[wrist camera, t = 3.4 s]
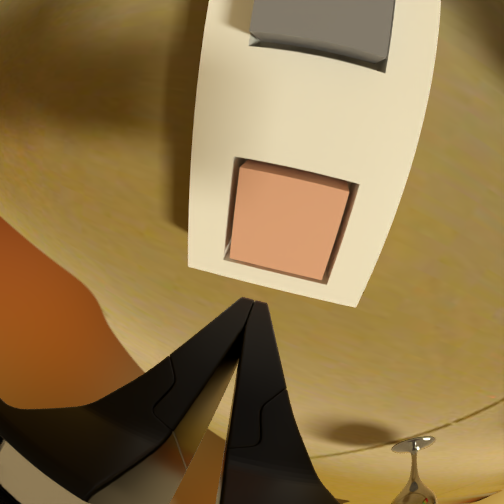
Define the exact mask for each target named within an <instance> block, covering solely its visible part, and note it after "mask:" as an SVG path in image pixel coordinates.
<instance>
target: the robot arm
mask: <svg viewBox="0 0 504 504" xmlns="http://www.w3.org/2000/svg"><path fill="white" fill-rule="evenodd" d="M238 361H239V362H238ZM237 364H238V368H237V374H236V380H235V387H234V393H233V399H232V406H231V412H230V418H229V424H228V431H227V437H226V443H225V450H224V456H223V463H222V468H221V474H220V481H219V487H218V493H217V499H216V504H340V503H339V502H338V501H337V500H336V499H335V498H334V496H333V495H332V494H331V493H330V492H329V491H328V490H327V489H326V488H325V486H324V485H323V484H322V482H321V481H320V479H319V478H318V476H317V474H316V472H315V470H314V468H313V465H312V463H311V460H310V458H309V455H308V453H307V450H306V448H305V445H304V443H303V440H302V437H301V435H300V432H299V430H298V427H297V424H296V421H295V418H294V415H293V411H292V408H291V404H290V400H289V396H288V391H287V390H286V388H287V387H286V383H285V378H284V374H283V369H282V365H281V361H280V356H279V352H278V347H277V343H276V338H275V334H274V330H273V325H272V321H271V316H270V312H269V308H268V304H267V303H265V302H261V301H255V302H254V300H253V299H249V298H245V297H241V298H240V299H238V300H237V301H236V302H235V303H234V304H232V305H231V306H230V307H229V308H228V309H226V310H225V311H224V312H223V313H221V314H220V315H219V316H218V317H216V318H215V319H214V320H213V321H212V322H210V323H209V324H208V325H207V326H205V327H204V328H203V329H202V330H200V331H199V332H198V333H197V334H195V335H194V336H193V337H192V338H190V339H189V340H188V341H187V342H185V343H184V344H183V345H182V346H180V347H179V348H178V349H177V350H175V351H174V352H173V353H171V354H170V357H169V356H167V357H166V358H165V359H164V360H162V361H161V362H160V363H159V364H157V365H156V366H154V367H153V368H152V369H150V370H149V371H147V372H146V373H144V374H143V375H141V376H140V377H138V378H137V379H135V380H133V381H131V382H130V383H128V384H126V385H125V386H123V387H121V388H119V389H117V390H116V391H114V392H112V393H110V394H109V395H107V396H105V397H103V398H101V399H99V400H98V401H95V402H93V403H90V404H87V405H83V406H78V407H66V408H50V409H18V408H14V407H12V406H9V405H7V404H6V403H5V402H4V401H2V399H1V398H0V504H169V503H170V501H171V499H172V497H173V495H174V494H175V492H176V489H177V488H178V486H179V484H180V482H181V480H182V478H183V476H184V474H185V472H186V469H187V468H188V466H189V464H190V462H191V460H192V458H193V456H194V454H195V452H196V450H197V448H198V446H199V444H200V442H201V440H202V438H203V436H204V434H205V432H206V430H207V428H208V426H209V424H210V422H211V420H212V418H213V416H214V414H215V411H216V409H217V407H218V405H219V403H220V401H221V399H222V397H223V395H224V392H225V390H226V388H227V386H228V384H229V382H230V380H231V377H232V375H233V373H234V371H235V369H236V366H237Z"/></svg>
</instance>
